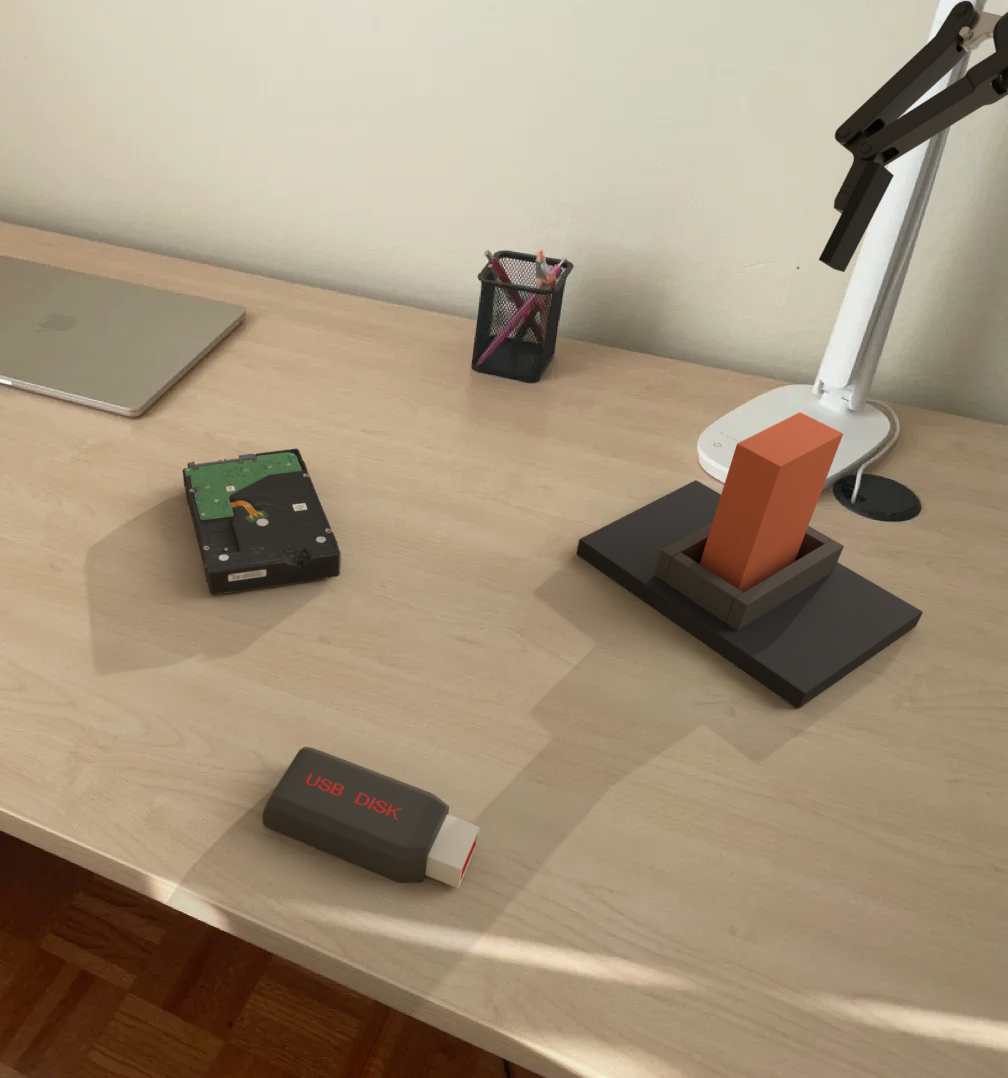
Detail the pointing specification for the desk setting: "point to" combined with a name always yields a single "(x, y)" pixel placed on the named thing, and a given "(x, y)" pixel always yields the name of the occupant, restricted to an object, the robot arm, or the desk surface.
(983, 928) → the desk surface
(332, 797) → the usb drive
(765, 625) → the socket base
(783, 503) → the orange rectangular block
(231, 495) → the disk drive
